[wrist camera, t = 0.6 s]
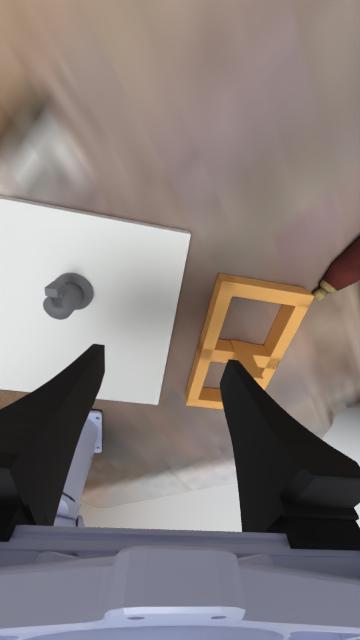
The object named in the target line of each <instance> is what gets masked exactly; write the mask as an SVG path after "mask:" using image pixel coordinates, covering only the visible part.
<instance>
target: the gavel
mask: <svg viewBox="0 0 360 640" xmlns="http://www.w3.org/2000/svg"><path fill="white" fill-rule="evenodd" d="M359 280H360V238H359V239H358V240H357V241H356V242H355V243H354V244H353V245H352V246H351V247H349V248H348V249H347V250H346V251H345V252H344V253H343V254H342V255H341V256H340V257H339V258H338V259H337V260H336V261H335V262H333V263H332V265H331V267H330V269H329V270H328V272H327V274H326V275H325V277H324V279H323V280H322V281H321V282H320V286H321V288H320V289H318V290H316V291H315V292H314V293H313V295H314V298H315V299H316V300H322V299H324V298H325V296H326V294H327V293H330V294H334V293H335V292H337V291H338V290H340V289H343V288H345V287H347V286H349V285H351V284H353V283H356V282H357V281H359Z"/></svg>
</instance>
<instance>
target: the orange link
mask: <svg viewBox="0 0 360 640" xmlns="http://www.w3.org/2000/svg"><path fill="white" fill-rule="evenodd" d="M232 296H236V297H242V298H248V299H255V300H261V301H267V302H273V303H279V304H283V305H282V307H281V309H280V311H279V313H278V316H277V318H276V320H275V322H274V324H273V326H272V329H271V331H270V333H269V335H268V337H267V339H266V341H265V344H264V345H257V344H250V343H246V342H244V341H236V340H230V341H228V340H221V339H218V337H219V334H220V331H221V328H222V325H223V322H224V319H225V316H226V313H227V310H228V307H229V304H230V300H231V297H232ZM313 298H314V295H312V294H311V293H310V292H309V291H307V290H306V289H305V288H303V287H298V286H292V285H286V284H280V283H274V282H268V281H263V280H257V279H251V278H245V277H239V276H233V275H228V274H222V273H218V276H217V280H216V283H215V287H214V291H213V294H212V298H211V301H210V305H209V309H208V312H207V316H206V319H205V323H204V327H203V330H202V334H201V338H200V341H199V345H198V348H197V352H196V356H195V359H194V363H193V366H192V370H191V374H190V377H189V381H188V384H187V388H186V392H185V394H186V405H188V406H198V407H208V408H218V409H224V408H223V404H222V399H221V391H220V389H214V388H205V387H202V386H203V383H204V380H205V377H206V374H207V371H208V368H209V365H210V362H211V361H214V362H222V363H227V362H228V359H232V360H239V362H240V363H241V364H242V365H243V366H244V367H245V369H246V370H247V371H248V372H249V373H250V375H251V376H252V377H253V378H254V379H255V380H256V382H257V383H258V384H259V385H260V386H261V387H262V388H263V389H264V390H265V388H266V386H267V384H268V382H269V381H270V379H271V377H272V375H273V373H274V371H275V369H276V367H277V366H278V364H279V362H280V360H281V358H282V356H283V354H284V352H285V351H286V349H287V347H288V345H289V343H290V341H291V339H292V338H293V336H294V334H295V332H296V330H297V328H298V326H299V324H300V323H301V321H302V319H303V317H304V315H305V313H306V311H307V309H308V308H309V306H310V304H311V302H312V300H313Z"/></svg>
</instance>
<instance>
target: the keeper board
mask: <svg viewBox="0 0 360 640" xmlns="http://www.w3.org/2000/svg"><path fill="white" fill-rule="evenodd" d="M190 236H191V233H190V231H186V230H181V229H175V228H170V227H165V226H160V225H154V224H149V223H144V222H138V221H133V220H128V219H123V218H117V217H112V216H107V215H102V214H96V213H91V212H86V211H81V210H75V209H70V208H65V207H59V206H54V205H49V204H44V203H38V202H33V201H28V200H23V199H17V198H12V197H7V196H1V195H0V389H5V390H15V391H25V392H33V391H34V390H36V389H37V388H39V387H40V386H42V385H43V384H45V383H46V382H48V381H49V380H51V379H52V378H53V377H55V376H56V375H57V374H58V373H60V372H61V371H62V370H64V369H65V368H66V367H67V366H69V365H70V364H71V363H72V362H73V361H75V360H76V359H77V358H78V357H79V356H80V355H81V354H82V353H84V352H85V351H86V350H87V349H88V348H89V347H90V346H91V345H92V344H101V345H105V374H104V377H103V381H102V384H101V387H100V390H99V392H98V395H97V397H96V399H104V400H114V401H124V402H134V403H144V404H154V405H158V401H159V396H160V391H161V386H162V381H163V376H164V370H165V365H166V360H167V355H168V350H169V345H170V339H171V334H172V329H173V324H174V319H175V314H176V309H177V303H178V298H179V293H180V288H181V283H182V278H183V272H184V267H185V262H186V257H187V252H188V247H189V241H190Z"/></svg>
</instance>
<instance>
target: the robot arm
mask: <svg viewBox="0 0 360 640" xmlns="http://www.w3.org/2000/svg"><path fill="white" fill-rule="evenodd" d="M104 374H105V345H101V344H92V345H91V346H90V347H89V348H88V349H87V350H86V351H85V352H84V353H82V354H81V355H80V356H79V357H78V358H77V359H76V360H75V361H73V362H72V363H71V364H70V365H69V366H67V367H66V368H65V369H64V370H62V371H61V372H60V373H58V374H57V375H56V376H55V377H53V378H52V379H51V380H49V381H48V382H46V383H45V384H43V385H42V386H40V387H39V388H37V389H36V390H34V391H33V392H31V393H29V394H28V395H26V396H24V397H22V398H21V399H19V400H17V401H15V402H14V403H12V404H10V405H8V406H6V407H4V408H2V409H0V640H360V528H359V526H358V524H357V522H356V520H358V519H359V516H358V515H357V513H356V511H355V509H354V507H355V506H356V505H357V504H359V503H360V467H359V465H358V464H357V462H356V461H354V460H352V459H351V458H349V457H348V456H346V455H344V454H343V453H341V452H340V451H338V450H336V449H334V448H333V447H331V446H330V445H328V444H327V443H326V442H324V441H323V440H321V439H320V438H319V437H317V436H316V435H314V434H313V433H312V432H310V431H309V430H308V429H306V428H305V427H304V426H303V425H301V424H300V423H299V422H297V421H296V420H295V419H294V418H293V417H291V416H290V415H289V414H288V413H287V412H286V411H285V410H284V409H283V408H281V407H280V406H279V405H278V404H277V403H276V402H275V401H274V400H273V399H272V398H271V397H270V396H269V395H268V394H267V393H266V392H265V391H264V389H263V388H262V387H261V386H260V385H259V384H258V383H257V382H256V380H255V379H254V378H253V377H252V376H251V375H250V373H249V372H248V371H247V370H246V369H245V367H244V366H243V365H242V364H241V363H240V362H239V360H232V359H228V362H227V365H226V367H225V370H224V373H223V376H222V379H221V381H220V391H221V399H222V404H223V408H224V412H225V416H226V420H227V424H228V428H229V432H230V436H231V440H232V445H233V452H234V459H235V466H236V473H237V481H238V491H239V500H240V510H241V522H242V532H224V531H193V530H162V529H131V528H130V529H129V528H100V527H85V526H84V522H83V517H82V516H80V515H78V513H79V510H80V506H81V504H78V503H77V502H78V501H79V499H80V497H81V494H82V491H83V488H84V485H85V481H86V478H87V475H88V472H89V468H90V465H91V462H92V458H93V455H94V453H100V452H101V451H102V412H100V411H93V410H91V408H92V406H93V404H94V402H95V399H96V397H97V395H98V392H99V390H100V387H101V384H102V381H103V377H104Z"/></svg>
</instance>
